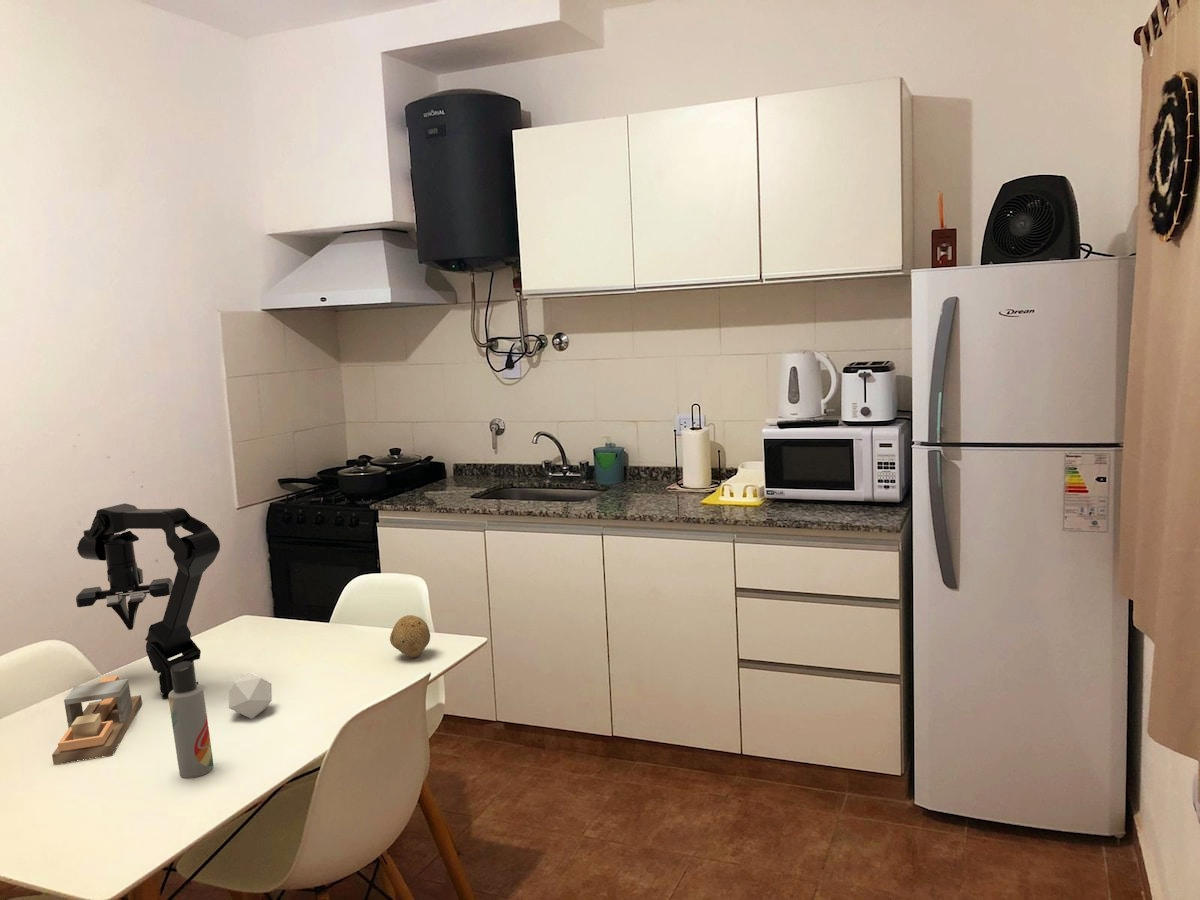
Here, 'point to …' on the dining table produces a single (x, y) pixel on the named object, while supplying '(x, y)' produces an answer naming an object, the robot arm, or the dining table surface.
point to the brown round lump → (410, 635)
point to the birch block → (87, 726)
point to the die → (250, 695)
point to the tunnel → (119, 714)
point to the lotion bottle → (189, 722)
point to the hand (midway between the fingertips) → (131, 629)
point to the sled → (107, 726)
